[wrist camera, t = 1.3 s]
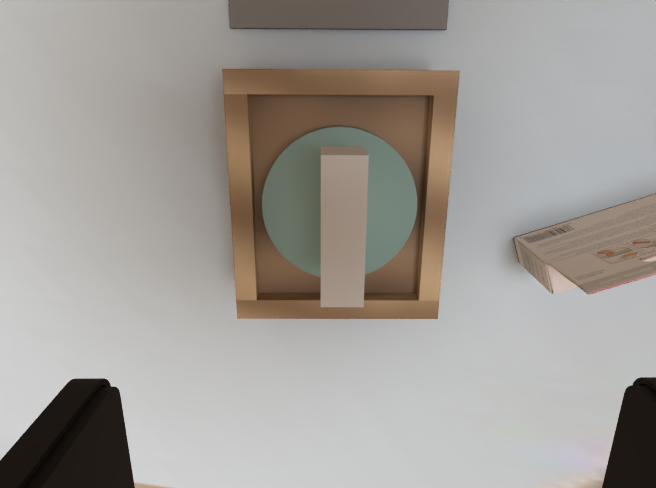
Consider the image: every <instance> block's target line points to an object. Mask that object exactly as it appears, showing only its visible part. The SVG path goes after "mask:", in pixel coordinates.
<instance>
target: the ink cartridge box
mask: <svg viewBox="0 0 656 488" xmlns="http://www.w3.org/2000/svg"><path fill="white" fill-rule="evenodd" d="M514 240H515V245H516V250H517V254H518V258H519V262H520V264H521V265H522V266H523V267H524V268H525V269H526V270H527V271H528V272H529V273H530V274H531V275H532V276H534V277H535V278H536V279H537V280H538V281H539V282H540V283H541V284H542V285H543V286H544V287H545V288H546V289H547V290H548V291H549V292H550V293H551V294H555V293H558V292H562V291H565V290H569V289H572V288H575V287H579V288H581V289H582V290H583V291H584V292H586V293H587V294H593V293H596V292H598V291H602V290H605V289H609V288H612V287H615V286H619V285H622V284H625V283H629V282H632V281H636V280H639V279H642V278H645V277H649V276H652V275H655V274H656V194H654V195H651V196H648V197H645V198H641V199H638V200H635V201H631V202H628V203H625V204H622V205H618V206H615V207H612V208H609V209H606V210H602V211H599V212H596V213H593V214H590V215H586V216H583V217H580V218H577V219H573V220H570V221H567V222H564V223H560V224H557V225H554V226H551V227H548V228H544V229H541V230H538V231H534V232H531V233H528V234H525V235H521V236H518V237H515V239H514Z"/></svg>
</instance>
